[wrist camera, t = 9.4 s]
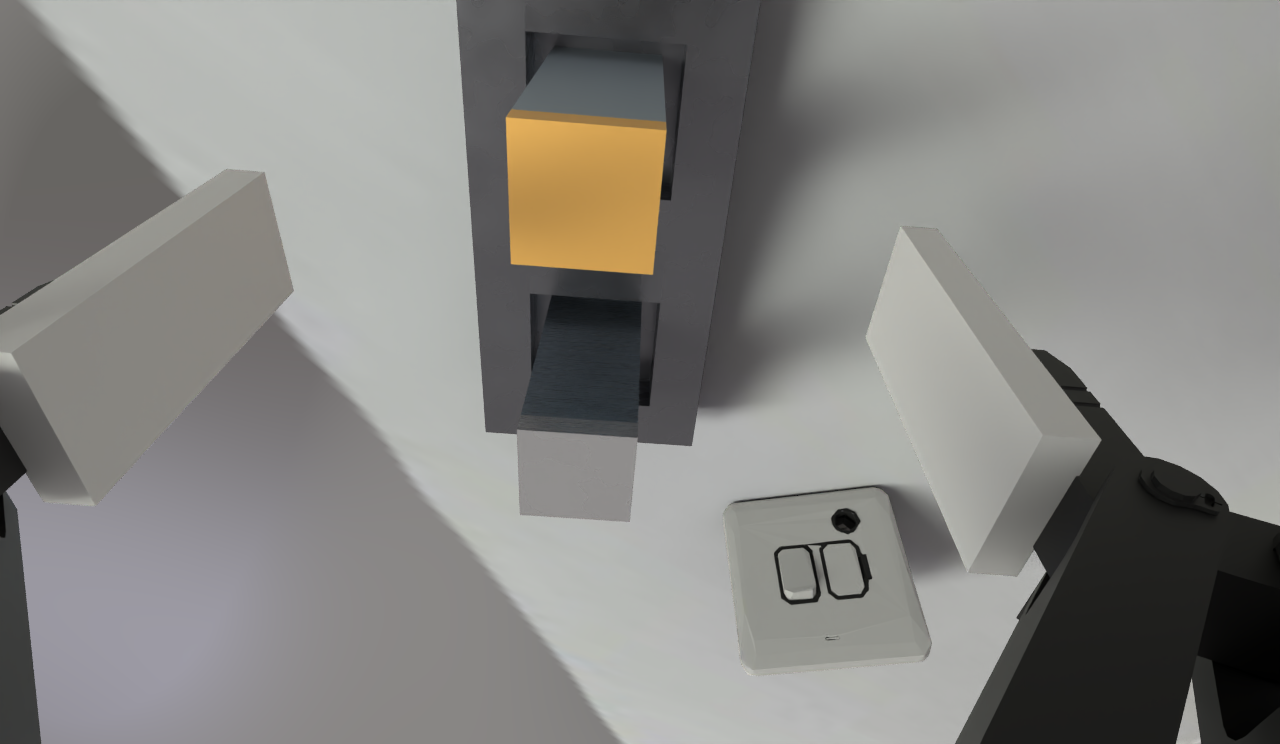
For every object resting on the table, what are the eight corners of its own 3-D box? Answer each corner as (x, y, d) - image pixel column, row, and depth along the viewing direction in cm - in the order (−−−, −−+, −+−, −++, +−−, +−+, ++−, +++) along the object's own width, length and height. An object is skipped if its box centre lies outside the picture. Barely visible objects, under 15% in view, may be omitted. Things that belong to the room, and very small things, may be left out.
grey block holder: (753, -33, 25) (811, 6, 16) (689, 408, 36) (701, 580, 27) (473, -58, 24) (365, -33, 15) (497, 395, 36) (444, 564, 27)
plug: (662, 55, 25) (666, 130, 17) (653, 162, 28) (652, 275, 19) (554, 46, 25) (505, 117, 17) (553, 154, 28) (511, 264, 19)
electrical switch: (885, 480, 39) (940, 635, 32) (881, 536, 42) (930, 687, 35) (719, 499, 40) (736, 653, 33) (728, 551, 43) (745, 701, 36)
